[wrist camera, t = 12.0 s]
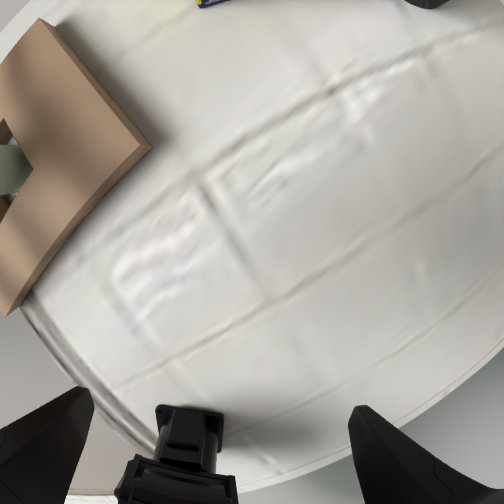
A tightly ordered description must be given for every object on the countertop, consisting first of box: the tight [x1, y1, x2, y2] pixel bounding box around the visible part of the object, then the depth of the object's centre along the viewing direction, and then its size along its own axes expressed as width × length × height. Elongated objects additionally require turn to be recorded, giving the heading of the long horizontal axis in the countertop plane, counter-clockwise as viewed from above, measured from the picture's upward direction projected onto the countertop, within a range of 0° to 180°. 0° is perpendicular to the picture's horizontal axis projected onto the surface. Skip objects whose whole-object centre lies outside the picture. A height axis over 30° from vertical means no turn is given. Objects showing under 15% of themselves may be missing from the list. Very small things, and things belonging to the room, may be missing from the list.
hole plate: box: [0, 18, 152, 317], centre depth 16 cm, size 20×16×3 cm
